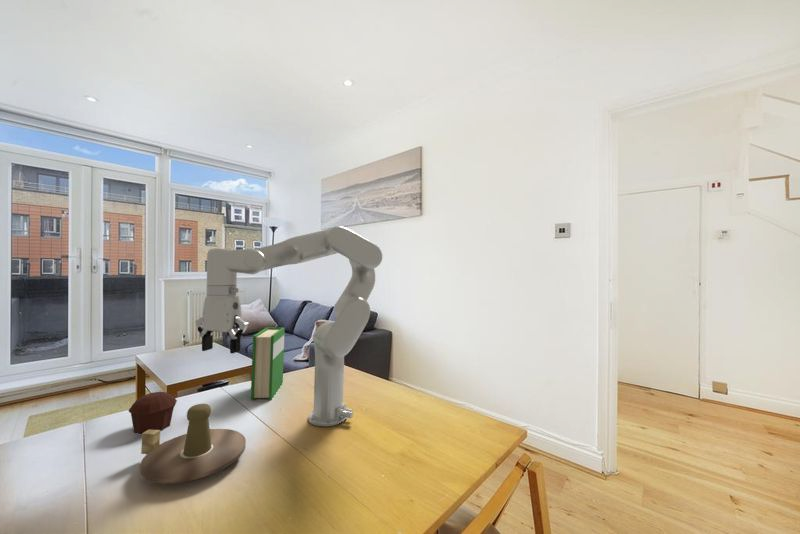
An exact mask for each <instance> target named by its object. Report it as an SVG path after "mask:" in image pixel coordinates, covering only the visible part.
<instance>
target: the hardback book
mask: <svg viewBox="0 0 800 534" xmlns="http://www.w3.org/2000/svg"><path fill="white" fill-rule="evenodd" d="M285 332H286V331H285V327H265V328H264V329H262V330H260V331H258V332H257V333H255V334H253V335H252V353H251V354H252V355H251V356H252V357H251V381H250V383H251V385H250V401H255V400H256V399H268V401H272V400H273V399H274V397H275V396H274V395H276V394H277V393H278V391H279V390H280V389H281V387H282V386H283V384H284V383H283V382H284V358H285V357H284V356H285ZM282 383H283V384H282ZM281 385H282V386H281ZM280 386H281V387H280ZM278 389H279V390H278ZM276 392H277V393H276ZM272 398H273V399H272Z"/></svg>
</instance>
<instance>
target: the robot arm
mask: <svg viewBox="0 0 800 534" xmlns="http://www.w3.org/2000/svg"><path fill="white" fill-rule="evenodd" d="M335 254H340V255H341V256H343V257H345V258H347V259H348V261H349V264H350V266H351V269H352V270H351V277H350V279H349V282H348V283H347V285H346V287H345V289H344V290H343V292H342V293H341V295H340V297H338V299H337V301H336V302H335V304H334V307H333V313H334V315H335V317H336V318H335V321H327V322H324V323H321V324H320V325H319V326H318V327H317V329H316V331H315V333H314V338H313V340H314V341H313V345H314V387H313V410H312V411H310V413H308V417H307V420H308V422H309V423H310V424H311V425H314V426H318V427H334V426H337V425H339V423H340V424H342V423H344V422H345V421H346V420H347V419H353V416H354V411H353V410H354V409H353V408H347V406H346V405H347V404H346V402H344V379H345V356H347V355H348V354H350V353H349V352H351V350H352V349H353V347H354V346H355V345H356V343H357V341H358V339H359V337H361V334H362V333H363V331H364V329H365V328H366V326H367V324H368V322H369V319H370V317H371V307H370V304H369V303H368V299H369V297H370V295H371V293H372V292H373V289H374V287H375V285H376V271H375V269H376V268H377V267H379V266H380V265H381V263H382V261H383V252H382V249H380V247H379V246H378V245H377V244H376V243H374V242H372V241H371V240H369V239H367V238H365V237H363V236H361V235H360V234H358V233H356V232H355V231H354V230H351V229H349V228H347V227H344V226H341V225H337V226H333V227H330V228H327V229H324V230H319V231H315V232H310V233H306V234H301V235H297V236H294V237H290V238H288V239H285V240H283V241H280V242H278V243H274V244H270V245H266V246H262V247H258V248H245V249H244V248H243V249H230V248H212V249H209V250H208V251H207V253H206V255H207V256H206V296H205V298H204V302H203V308H202V316H201V317H200V318H199V319H197V320H195V322H194V323H195V325H196V328H197V331H198V333H199V336H200V337H201V351H202V352H205V351H210V350H213V348H214V347H213V345H214V343H213V341H214V338H213V334H212V333H213V332H218V333H219V332H220V333H228V334H229V335H230V337H231V338H230V341H229V353H230V354H232V355H233V354H235V353H238V352H241V338H243V336H244V335H245V333H246V330H247V329H248V326H249V322H247V321H245V320H244V319H243V315H242V307H241V306H242V305H241V300H240V297H239V296H238V295H237V293H239V291H240V290H239V288H238V287H237V283H238V281H237V278H238V277H237V276H238V275H237V273H238V274H246V275H255V274H259V273H261V272H263V271H267V270H272V269H275V268H279V267H284V266H287V265H288V266H289V265H297V264H301V263H306V262H309V261H313V260H317V259H320V258H324V257H328V256H333V255H335ZM345 419H346V420H345ZM344 420H345V421H344ZM341 422H342V423H341Z"/></svg>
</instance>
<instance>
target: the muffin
mask: <svg viewBox="0 0 800 534" xmlns="http://www.w3.org/2000/svg"><path fill="white" fill-rule="evenodd" d="M177 401H178V400H177V399H176V398H175V396H174V395H172V394H171V393H168V392H165V391H155V392H151V393H146V394H145V395H142V396H141V397H139V398H137V399H136V400H135V401H134V403H133V404H132V405H131V406H130V407H129V409H128V412H129V413H130V416H131V422H132V427H133V433H134V434H137V433H138V434H137V435H139V434H142V433H144V432H146V431H147V430H160V432H162V431H164V430H165V429H167V428H169V427H170V426H171V423H172V417H173V413H174V408H175V406H176V404H177Z"/></svg>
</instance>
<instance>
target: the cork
mask: <svg viewBox="0 0 800 534" xmlns="http://www.w3.org/2000/svg"><path fill="white" fill-rule="evenodd" d="M211 414H212V407H211V405H210V404H209V403H197V404H195V405H192V406H191V407H189V409H188V410H187V412H186V418H187V421H189V422H188V427H187V431H186V434H187V436H186V441H185V446H184V451H183V454H184V456H187V457H194V456H199V455H202V454H205V453H206V452H208V451H209V450H210V449H211V448H212V446H211V437H210V429H211V428H210V422H209V421H210V419H209V418H210V416H211Z"/></svg>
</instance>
